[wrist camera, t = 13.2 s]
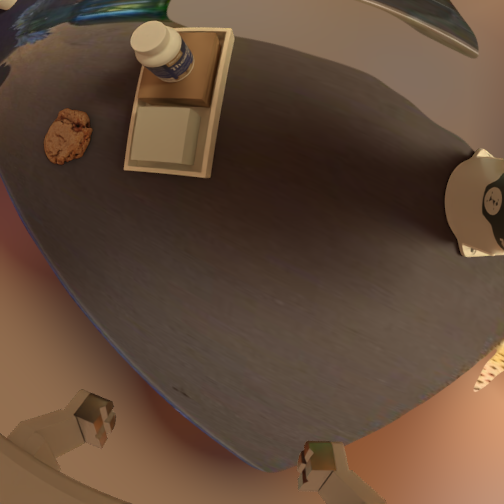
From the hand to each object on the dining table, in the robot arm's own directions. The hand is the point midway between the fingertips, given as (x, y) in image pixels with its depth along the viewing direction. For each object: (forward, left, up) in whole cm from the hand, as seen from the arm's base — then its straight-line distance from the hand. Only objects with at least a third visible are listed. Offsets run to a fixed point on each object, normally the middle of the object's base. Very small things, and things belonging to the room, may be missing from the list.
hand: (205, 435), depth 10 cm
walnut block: (+13, -24, -33) cm, 43 cm away
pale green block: (+13, -14, -33) cm, 38 cm away
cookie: (+33, -14, -34) cm, 49 cm away
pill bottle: (+13, -23, -28) cm, 39 cm away
